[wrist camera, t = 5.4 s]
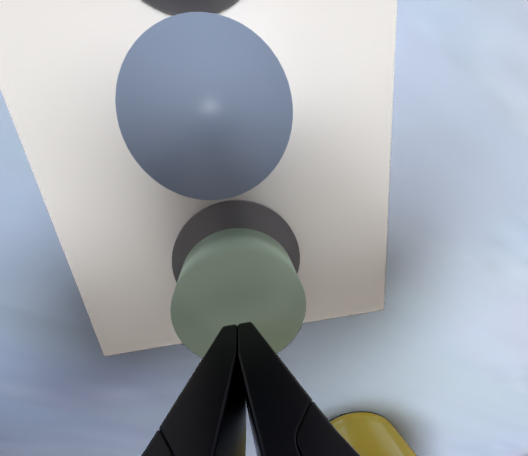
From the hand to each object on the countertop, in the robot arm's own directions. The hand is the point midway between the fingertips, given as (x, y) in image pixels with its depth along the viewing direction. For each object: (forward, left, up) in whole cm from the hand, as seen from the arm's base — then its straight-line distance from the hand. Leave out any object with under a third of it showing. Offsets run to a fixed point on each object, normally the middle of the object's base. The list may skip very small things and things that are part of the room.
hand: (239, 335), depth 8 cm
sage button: (0, 0, -3) cm, 3 cm away
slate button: (+6, 0, -3) cm, 7 cm away
